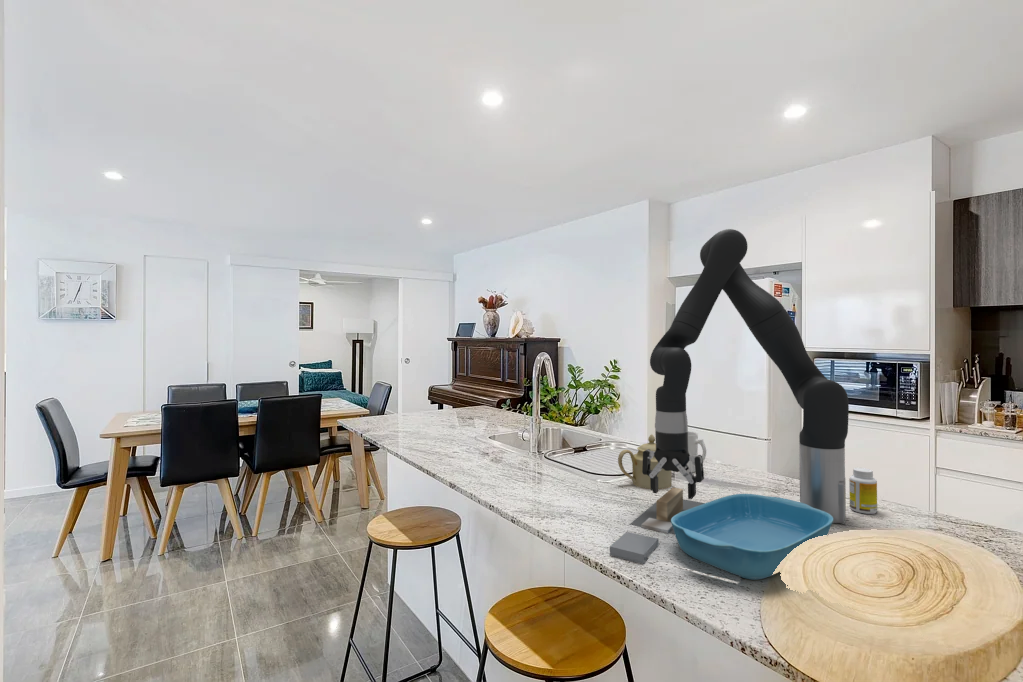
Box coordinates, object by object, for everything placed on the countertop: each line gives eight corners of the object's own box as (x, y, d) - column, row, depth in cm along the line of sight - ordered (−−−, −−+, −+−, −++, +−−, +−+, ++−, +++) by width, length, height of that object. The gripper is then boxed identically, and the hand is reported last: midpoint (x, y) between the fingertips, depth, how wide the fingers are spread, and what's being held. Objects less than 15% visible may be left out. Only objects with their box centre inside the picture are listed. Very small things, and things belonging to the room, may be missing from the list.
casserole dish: (745, 514, 121) (745, 485, 121) (849, 544, 103) (849, 510, 103) (650, 556, 99) (650, 521, 99) (761, 604, 81) (761, 561, 81)
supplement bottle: (882, 512, 120) (882, 470, 120) (868, 516, 118) (868, 473, 118) (858, 505, 125) (857, 465, 125) (844, 509, 123) (844, 468, 123)
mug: (671, 469, 160) (671, 433, 160) (683, 466, 164) (683, 430, 164) (700, 476, 152) (700, 437, 152) (711, 472, 156) (711, 434, 156)
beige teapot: (647, 496, 134) (646, 442, 134) (616, 487, 143) (615, 435, 143) (679, 486, 143) (679, 434, 143) (648, 477, 152) (647, 429, 152)
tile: (658, 538, 103) (643, 554, 95) (658, 549, 103) (643, 565, 95) (626, 531, 107) (609, 546, 99) (626, 541, 107) (609, 557, 99)
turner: (690, 510, 122) (689, 490, 122) (667, 533, 108) (667, 510, 108) (666, 505, 126) (666, 486, 126) (641, 527, 112) (641, 505, 112)
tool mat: (710, 506, 126) (710, 504, 126) (681, 538, 107) (681, 536, 107) (663, 497, 133) (663, 495, 133) (629, 526, 114) (629, 524, 114)
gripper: (705, 429, 119) (707, 496, 119) (648, 424, 127) (649, 486, 127) (697, 434, 112) (699, 505, 113) (637, 429, 121) (639, 494, 121)
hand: (672, 495), depth 120 cm, fingers open, 8 cm apart
